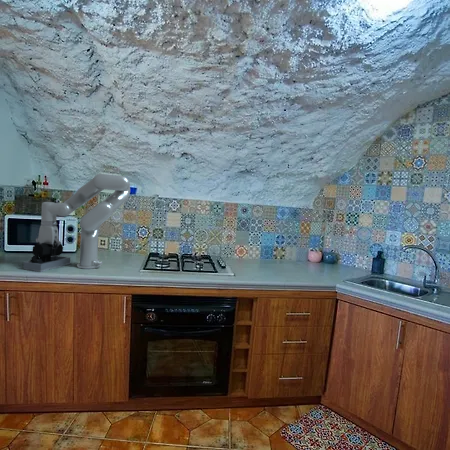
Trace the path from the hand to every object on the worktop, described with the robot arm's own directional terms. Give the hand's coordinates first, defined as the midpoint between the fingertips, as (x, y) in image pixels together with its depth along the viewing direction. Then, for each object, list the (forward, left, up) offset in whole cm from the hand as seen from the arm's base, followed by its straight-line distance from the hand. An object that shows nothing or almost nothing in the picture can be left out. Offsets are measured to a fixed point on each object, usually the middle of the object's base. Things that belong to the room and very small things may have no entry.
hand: (47, 254), depth 181 cm
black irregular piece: (0, +1, -4) cm, 4 cm away
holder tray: (0, 0, -7) cm, 7 cm away
